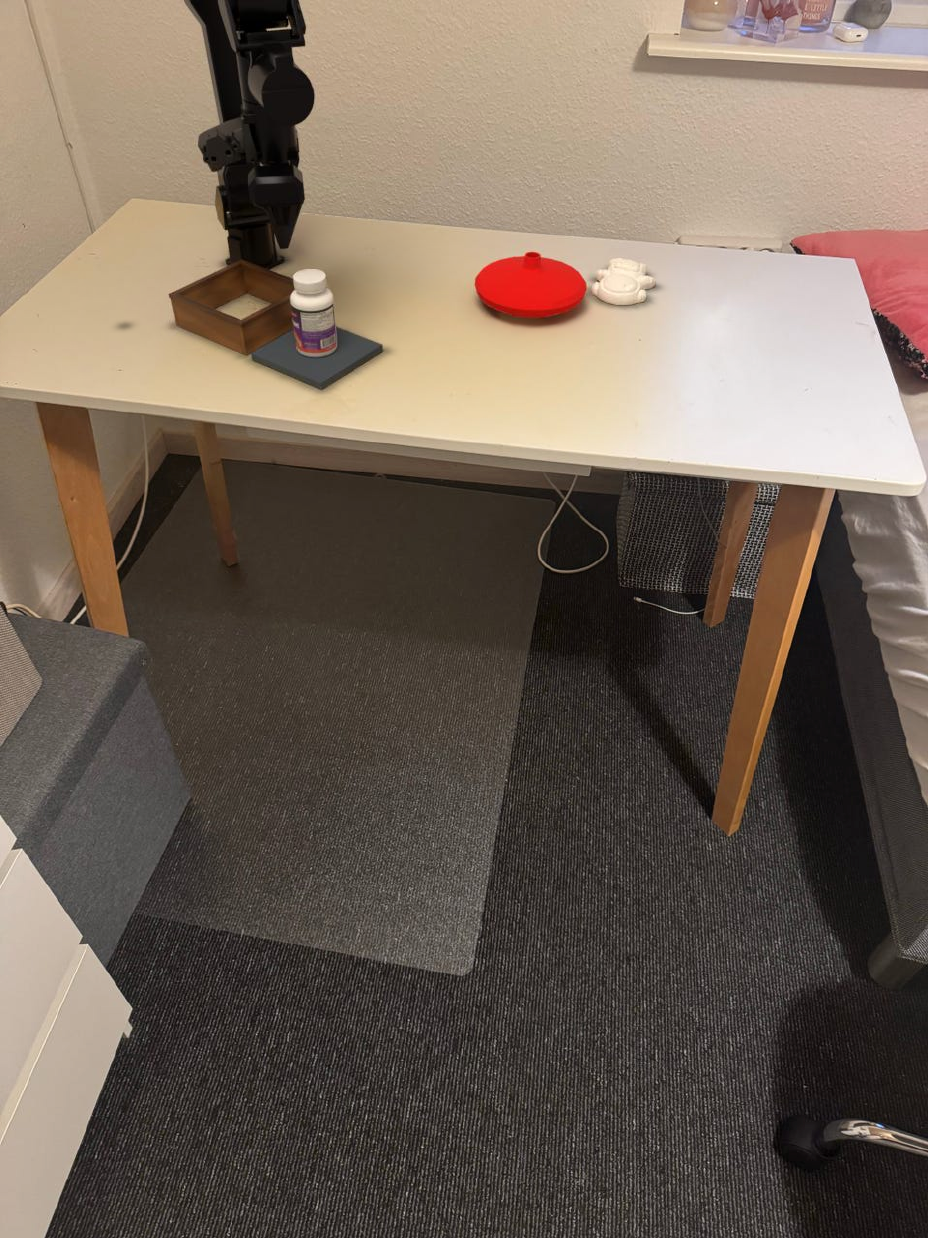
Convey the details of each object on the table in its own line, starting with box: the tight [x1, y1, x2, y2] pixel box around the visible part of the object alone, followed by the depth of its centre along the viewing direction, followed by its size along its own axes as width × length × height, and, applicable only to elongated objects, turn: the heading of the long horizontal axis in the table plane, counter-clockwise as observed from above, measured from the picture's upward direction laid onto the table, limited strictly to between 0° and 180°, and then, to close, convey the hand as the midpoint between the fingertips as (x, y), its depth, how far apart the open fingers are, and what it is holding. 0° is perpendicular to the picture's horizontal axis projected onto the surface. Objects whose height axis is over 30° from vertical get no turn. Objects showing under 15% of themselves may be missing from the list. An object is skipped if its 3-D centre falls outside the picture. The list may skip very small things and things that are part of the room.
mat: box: [250, 326, 384, 391], centre depth 122 cm, size 12×12×1 cm
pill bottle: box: [290, 268, 337, 357], centre depth 118 cm, size 5×5×10 cm
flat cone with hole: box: [474, 251, 588, 319], centre depth 131 cm, size 16×16×7 cm
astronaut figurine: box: [591, 257, 657, 306], centre depth 137 cm, size 9×12×3 cm
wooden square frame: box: [168, 260, 295, 356], centre depth 127 cm, size 13×13×4 cm
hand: (282, 232), depth 119 cm, fingers open, 9 cm apart
